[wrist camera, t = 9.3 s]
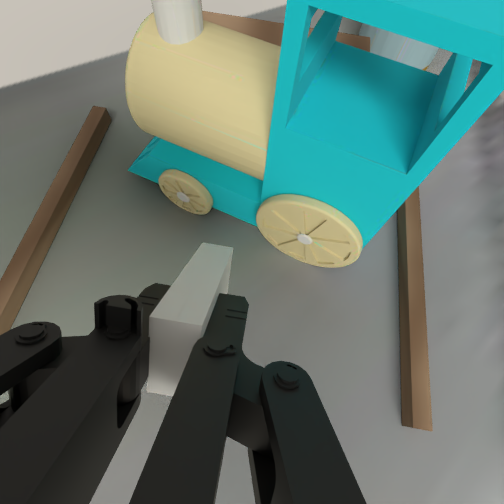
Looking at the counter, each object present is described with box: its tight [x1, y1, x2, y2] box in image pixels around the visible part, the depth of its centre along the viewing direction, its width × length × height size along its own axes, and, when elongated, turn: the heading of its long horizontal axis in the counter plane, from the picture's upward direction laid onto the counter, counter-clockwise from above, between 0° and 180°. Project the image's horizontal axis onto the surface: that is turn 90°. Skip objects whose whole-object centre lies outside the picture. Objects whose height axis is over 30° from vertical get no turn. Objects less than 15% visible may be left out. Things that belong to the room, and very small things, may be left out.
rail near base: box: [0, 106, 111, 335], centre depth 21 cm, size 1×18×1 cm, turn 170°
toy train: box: [125, 0, 504, 268], centre depth 17 cm, size 8×17×15 cm, turn 65°
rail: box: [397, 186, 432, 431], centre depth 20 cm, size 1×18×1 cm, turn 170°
